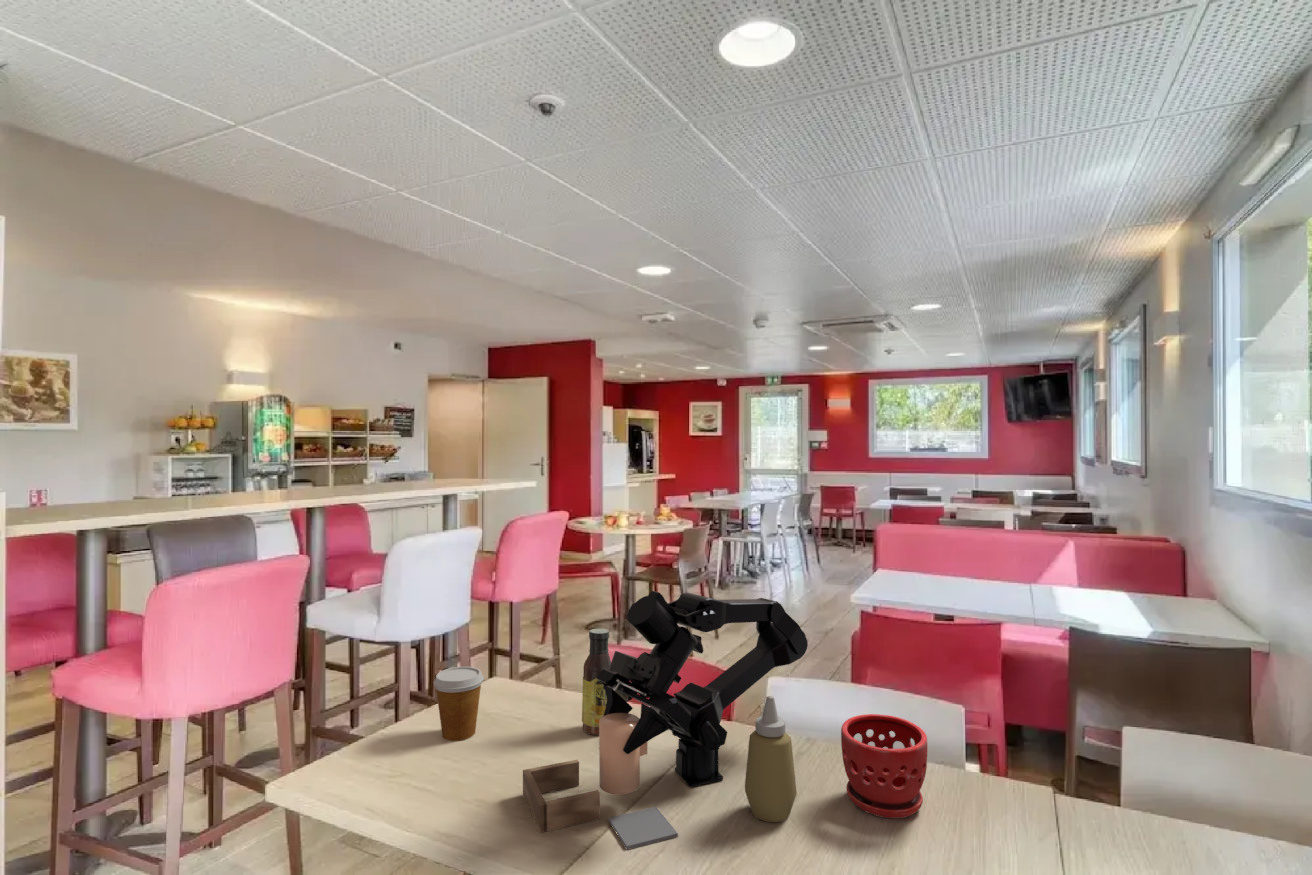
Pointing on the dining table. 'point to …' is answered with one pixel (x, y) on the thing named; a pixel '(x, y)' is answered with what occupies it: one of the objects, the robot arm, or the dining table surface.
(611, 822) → the rubber mat
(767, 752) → the squeeze bottle
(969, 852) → the dining table surface
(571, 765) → the open u-shaped wooden holder
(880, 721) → the plant pot
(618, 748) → the tan cylinder
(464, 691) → the disposable coffee cup
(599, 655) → the sauce bottle
